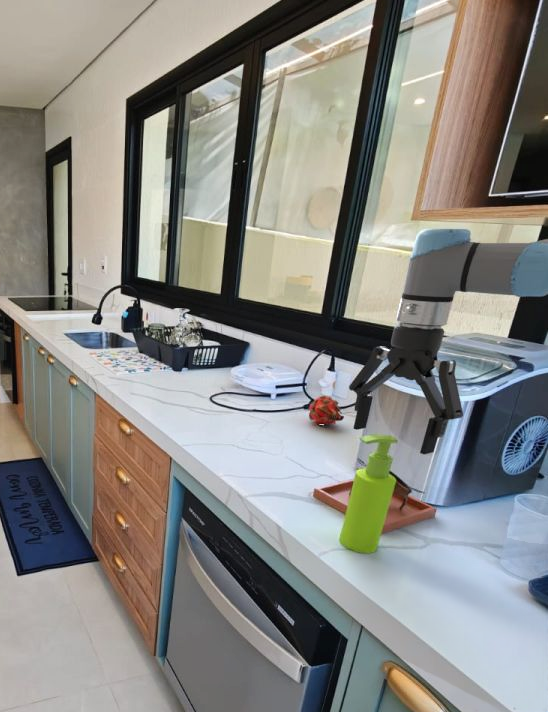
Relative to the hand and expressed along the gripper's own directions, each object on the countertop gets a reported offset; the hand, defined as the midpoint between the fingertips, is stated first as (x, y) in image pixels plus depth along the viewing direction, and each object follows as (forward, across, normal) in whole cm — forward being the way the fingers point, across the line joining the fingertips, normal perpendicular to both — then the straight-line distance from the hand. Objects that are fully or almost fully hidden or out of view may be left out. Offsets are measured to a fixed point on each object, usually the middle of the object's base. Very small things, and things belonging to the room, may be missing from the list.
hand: (391, 439), depth 95 cm
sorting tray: (+14, 0, 0) cm, 14 cm away
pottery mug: (+14, 0, 0) cm, 14 cm away
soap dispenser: (+14, +8, -15) cm, 22 cm away
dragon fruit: (+14, -40, +31) cm, 52 cm away
